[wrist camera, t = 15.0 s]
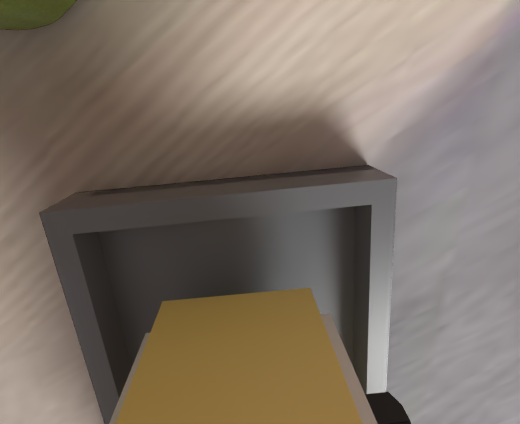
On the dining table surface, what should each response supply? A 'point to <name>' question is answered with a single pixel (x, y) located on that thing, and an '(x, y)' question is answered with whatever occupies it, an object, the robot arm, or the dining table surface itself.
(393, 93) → the dining table surface
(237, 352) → the mustard yellow carton
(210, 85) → the dining table surface
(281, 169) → the dining table surface
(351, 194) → the tray
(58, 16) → the plant pot
